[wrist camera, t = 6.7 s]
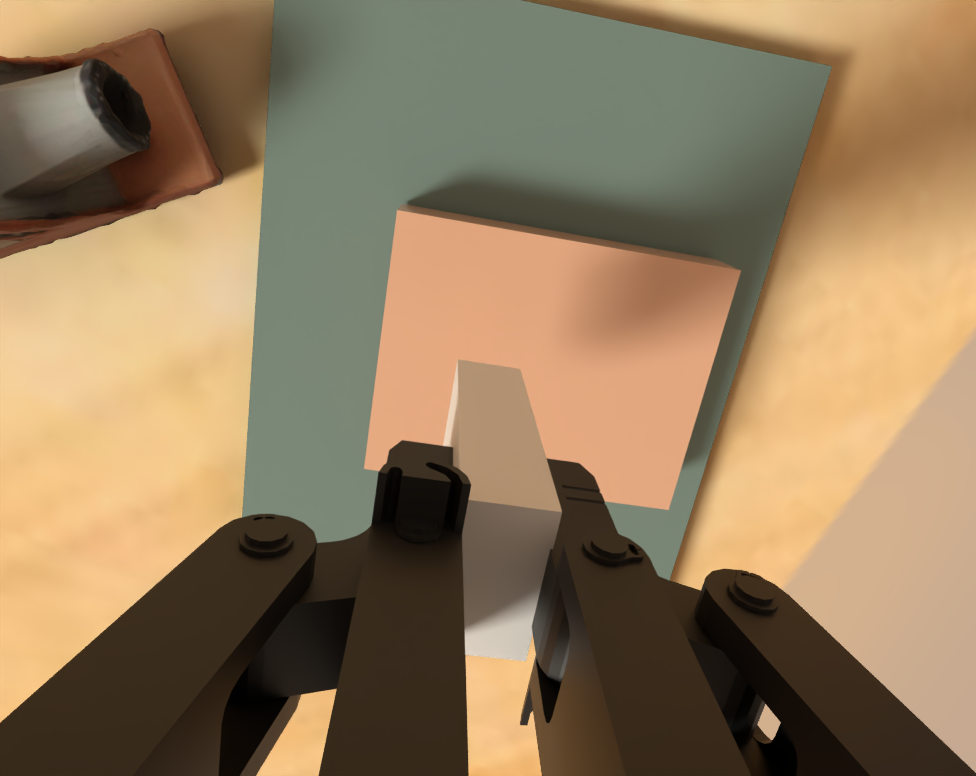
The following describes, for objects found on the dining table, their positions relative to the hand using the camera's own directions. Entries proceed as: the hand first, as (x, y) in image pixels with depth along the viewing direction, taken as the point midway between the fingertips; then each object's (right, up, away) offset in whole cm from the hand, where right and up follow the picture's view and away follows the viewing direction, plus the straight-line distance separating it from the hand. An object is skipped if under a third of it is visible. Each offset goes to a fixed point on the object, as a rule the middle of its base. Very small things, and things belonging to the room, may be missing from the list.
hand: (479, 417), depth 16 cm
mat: (+1, +2, +7) cm, 7 cm away
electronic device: (-13, +8, +5) cm, 16 cm away
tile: (-3, +2, +5) cm, 6 cm away
